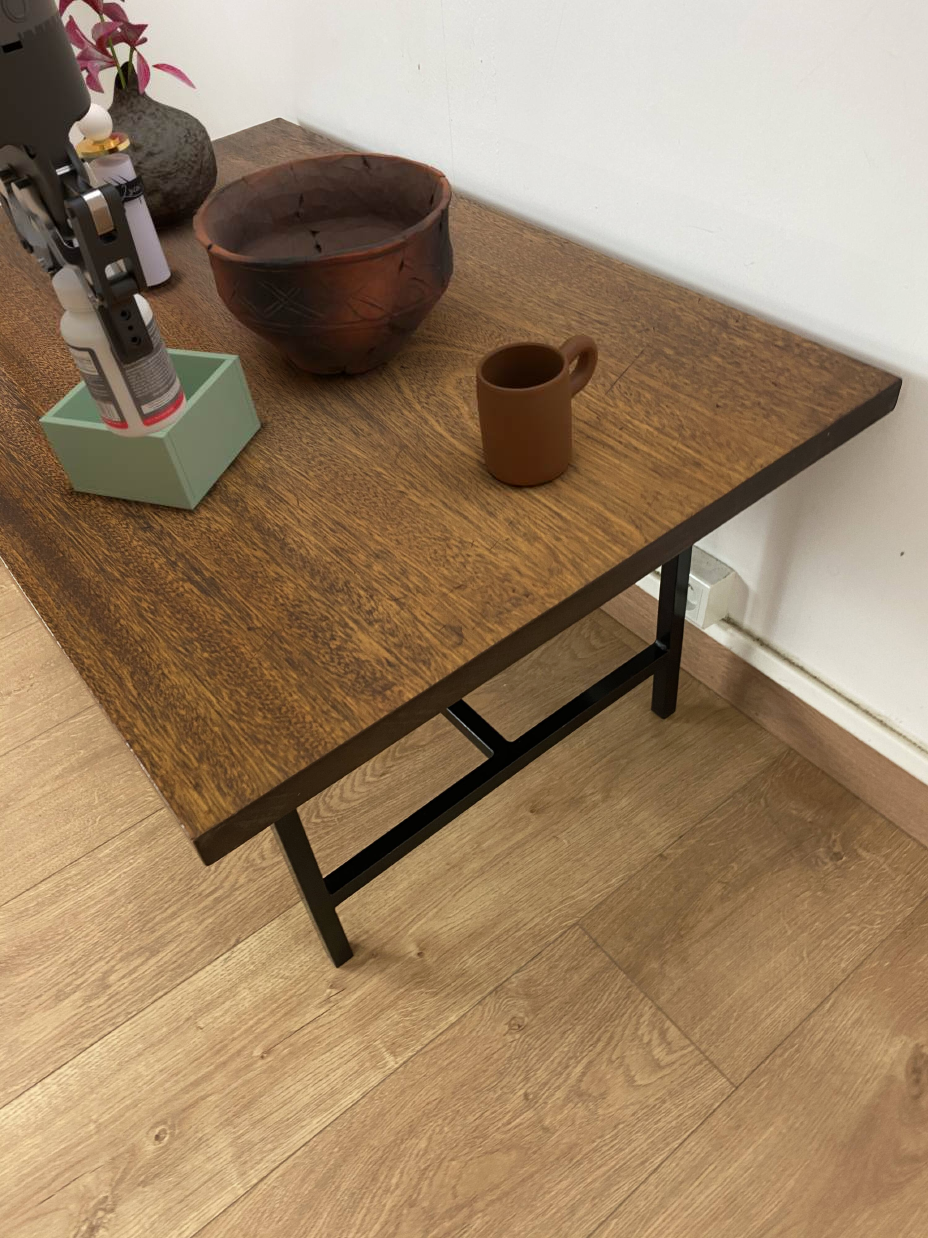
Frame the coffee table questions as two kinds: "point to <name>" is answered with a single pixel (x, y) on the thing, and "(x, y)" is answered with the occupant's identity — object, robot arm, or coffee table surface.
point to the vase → (147, 119)
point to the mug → (531, 406)
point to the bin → (159, 437)
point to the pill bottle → (119, 366)
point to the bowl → (331, 255)
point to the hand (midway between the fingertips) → (114, 339)
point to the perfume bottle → (123, 187)
